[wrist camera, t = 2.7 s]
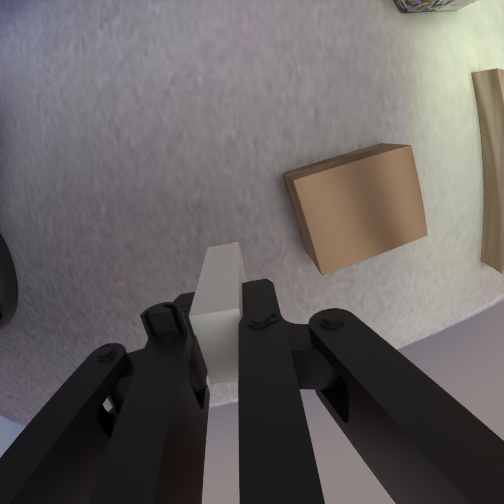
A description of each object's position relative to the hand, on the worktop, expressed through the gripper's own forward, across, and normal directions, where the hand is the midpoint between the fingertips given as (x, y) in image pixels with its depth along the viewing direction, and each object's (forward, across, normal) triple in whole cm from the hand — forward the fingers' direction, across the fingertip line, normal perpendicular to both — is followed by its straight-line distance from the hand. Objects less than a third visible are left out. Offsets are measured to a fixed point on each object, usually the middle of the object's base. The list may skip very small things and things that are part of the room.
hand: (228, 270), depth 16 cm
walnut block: (+11, +10, 0) cm, 14 cm away
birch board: (+11, +26, +1) cm, 29 cm away
